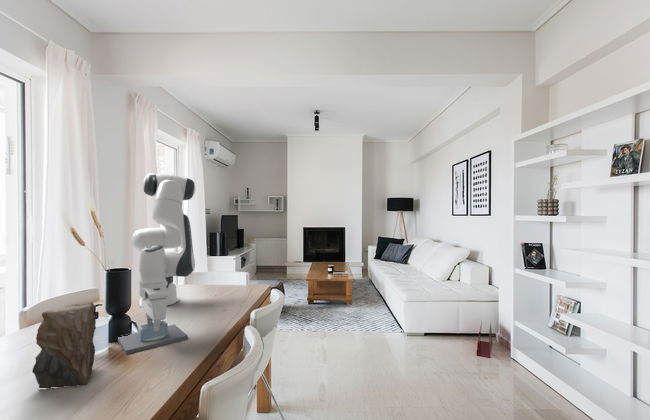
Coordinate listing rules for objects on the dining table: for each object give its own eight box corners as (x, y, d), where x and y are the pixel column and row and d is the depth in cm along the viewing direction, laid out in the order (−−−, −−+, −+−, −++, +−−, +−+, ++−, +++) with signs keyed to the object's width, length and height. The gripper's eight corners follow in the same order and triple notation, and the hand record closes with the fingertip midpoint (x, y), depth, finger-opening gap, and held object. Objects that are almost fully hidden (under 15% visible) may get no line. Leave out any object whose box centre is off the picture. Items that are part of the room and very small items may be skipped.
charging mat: (117, 339, 121) (117, 336, 121) (174, 327, 134) (174, 323, 134) (125, 354, 109) (125, 350, 109) (187, 338, 122) (187, 335, 122)
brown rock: (30, 392, 86) (30, 316, 86) (56, 369, 98) (56, 302, 98) (85, 385, 89) (85, 312, 89) (104, 364, 101) (104, 300, 101)
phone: (137, 336, 120) (137, 325, 120) (164, 330, 126) (164, 320, 126) (140, 340, 117) (140, 329, 117) (167, 334, 122) (167, 323, 122)
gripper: (136, 286, 127) (136, 321, 127) (150, 296, 112) (150, 337, 112) (154, 283, 131) (154, 318, 131) (169, 293, 116) (169, 332, 116)
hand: (152, 326), depth 121 cm, fingers open, 8 cm apart
